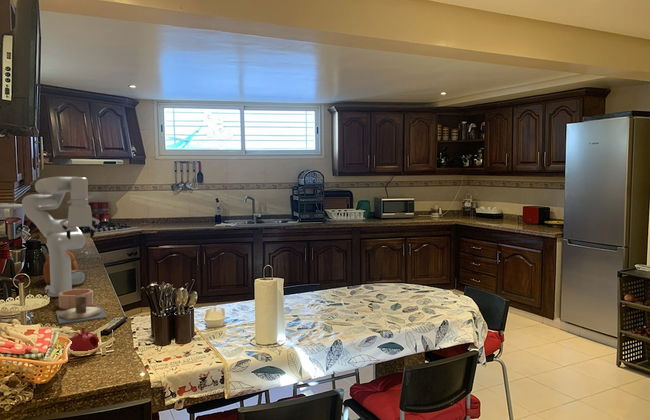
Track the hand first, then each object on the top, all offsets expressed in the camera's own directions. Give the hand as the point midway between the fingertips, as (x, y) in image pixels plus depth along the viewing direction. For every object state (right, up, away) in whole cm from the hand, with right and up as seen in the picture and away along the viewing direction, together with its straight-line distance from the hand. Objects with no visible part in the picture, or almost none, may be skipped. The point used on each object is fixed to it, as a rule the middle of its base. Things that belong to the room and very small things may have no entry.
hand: (80, 238), depth 236 cm
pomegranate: (+35, -36, -68) cm, 85 cm away
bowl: (+1, -31, -6) cm, 32 cm away
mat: (+12, -32, -23) cm, 41 cm away
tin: (-21, -28, +33) cm, 48 cm away
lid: (+12, -32, -23) cm, 41 cm away
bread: (-34, -27, +46) cm, 64 cm away
